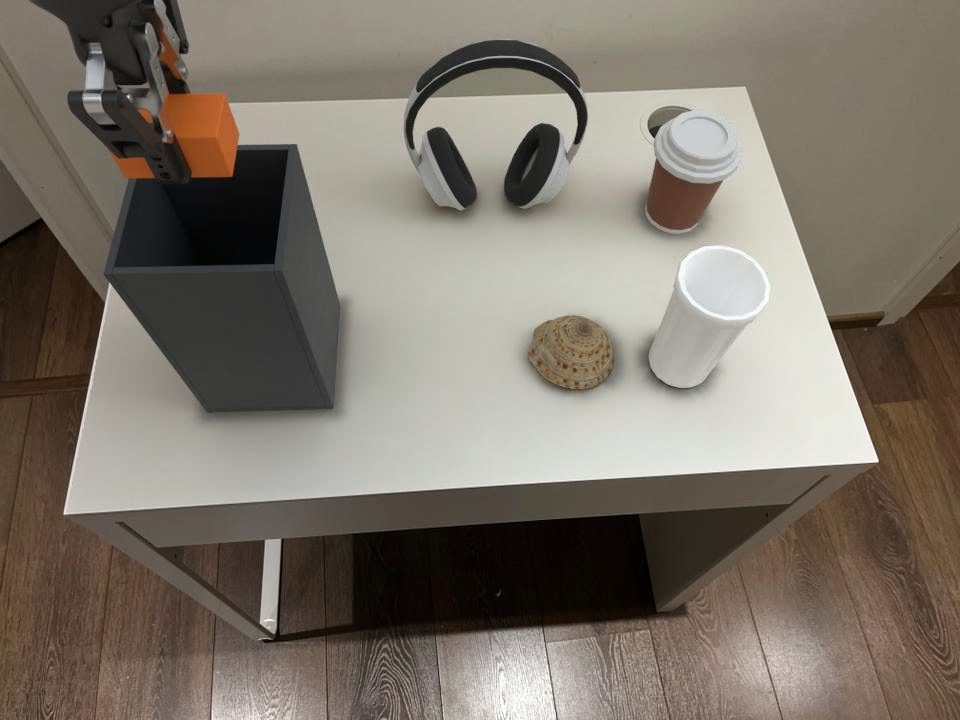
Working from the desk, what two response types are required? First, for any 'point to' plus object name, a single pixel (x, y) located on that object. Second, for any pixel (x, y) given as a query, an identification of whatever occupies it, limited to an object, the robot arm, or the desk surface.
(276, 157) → the wastebasket
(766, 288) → the cup
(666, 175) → the coffee cup
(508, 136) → the desk surface
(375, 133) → the desk surface
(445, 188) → the headphones
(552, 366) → the seashell
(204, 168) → the block
